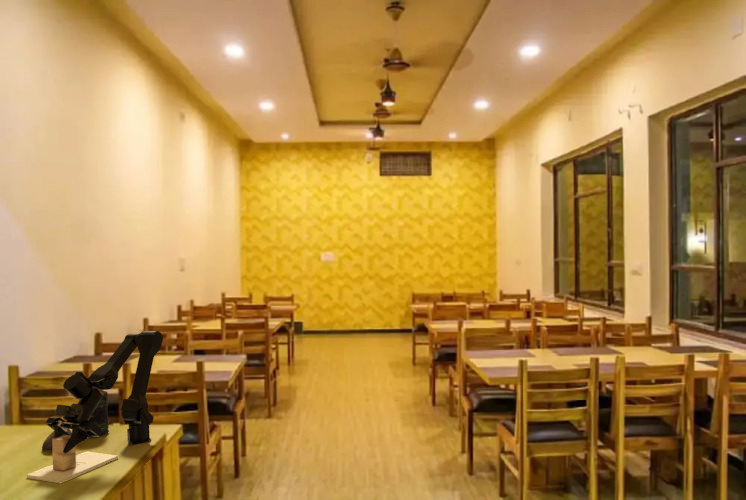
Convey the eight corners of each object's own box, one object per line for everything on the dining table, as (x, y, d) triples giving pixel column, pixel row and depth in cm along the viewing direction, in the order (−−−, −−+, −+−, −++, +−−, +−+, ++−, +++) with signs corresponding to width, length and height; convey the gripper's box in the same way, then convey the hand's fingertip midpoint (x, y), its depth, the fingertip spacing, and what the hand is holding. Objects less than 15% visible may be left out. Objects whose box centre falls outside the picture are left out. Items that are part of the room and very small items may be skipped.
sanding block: (65, 465, 193) (64, 434, 193) (76, 466, 191) (75, 436, 191) (53, 470, 189) (52, 439, 189) (63, 471, 187) (62, 440, 187)
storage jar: (114, 432, 231) (112, 392, 230) (88, 439, 223) (87, 398, 223) (100, 428, 237) (99, 389, 237) (75, 435, 229) (73, 394, 229)
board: (86, 454, 206) (86, 451, 206) (118, 458, 201) (118, 455, 201) (26, 477, 186) (26, 474, 186) (60, 483, 180) (60, 479, 180)
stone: (49, 465, 208) (71, 443, 209) (32, 446, 209) (54, 425, 210) (64, 459, 218) (85, 438, 219) (48, 442, 219) (69, 421, 220)
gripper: (49, 391, 196) (19, 436, 186) (92, 395, 189) (64, 442, 179) (70, 409, 204) (43, 453, 194) (113, 413, 197) (87, 459, 187)
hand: (58, 451), depth 188 cm, fingers closed on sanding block, 4 cm apart
